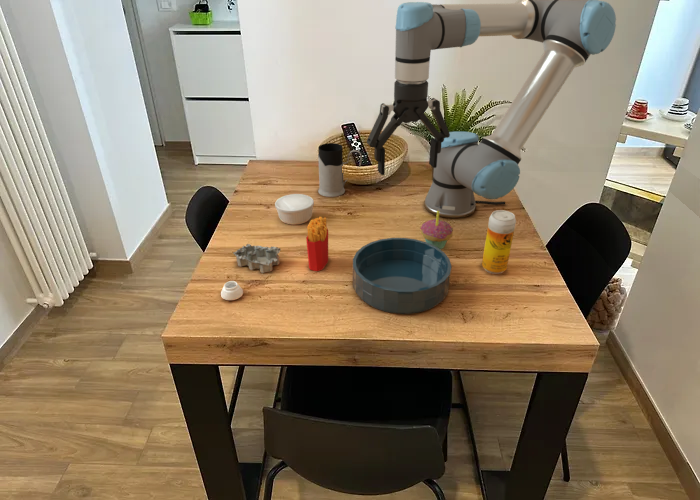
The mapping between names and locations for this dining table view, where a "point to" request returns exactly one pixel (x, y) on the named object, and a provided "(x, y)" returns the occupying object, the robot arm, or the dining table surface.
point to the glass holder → (331, 169)
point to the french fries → (317, 244)
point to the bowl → (401, 275)
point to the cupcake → (436, 232)
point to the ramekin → (294, 208)
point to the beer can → (498, 241)
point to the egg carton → (258, 257)
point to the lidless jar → (231, 291)
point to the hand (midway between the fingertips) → (407, 169)
